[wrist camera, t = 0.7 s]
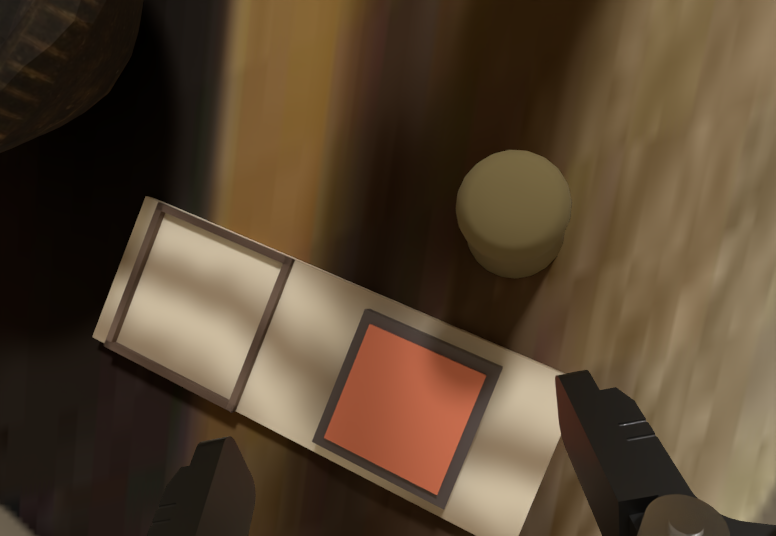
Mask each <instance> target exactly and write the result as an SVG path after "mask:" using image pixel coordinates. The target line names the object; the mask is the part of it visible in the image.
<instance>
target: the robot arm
mask: <svg viewBox="0 0 776 536" xmlns="http://www.w3.org/2000/svg"><path fill="white" fill-rule="evenodd" d="M555 387H556V397H557V408H558V419H559V426H560V431H561V435H562V439H563V442H564V445H565V448H566V451H567V453H568V455H569V458H570V460H571V462H572V465H573V467H574V470H575V472H576V474H577V477H578V479H579V481H580V484H581V486H582V489H583V491H584V493H585V496H586V498H587V500H588V503H589V505H590V508H591V510H592V512H593V515H594V517H595V519H596V522H597V524H598V527H599V529H600V531H601V534H602V536H776V525H768V524H760V523H752V522H744V521H739V520H735V519H731V518H728V517H726V516H723V515H721V514H719V513H718V512H717V511H716V510H715V509H714V508H713V507H711V506H710V505H709V504H707V503H705V502H703V501H701V500H699V499H698V498H697V497H696V496H695V495H694V494H693V492H692V491H691V490H690V488H689V486H688V485H687V483H686V482H685V480H684V479H683V477H682V475H681V474H680V472H679V471H678V469H677V467H676V466H675V464H674V463H673V461H672V460H671V458H670V456H669V455H668V453H667V452H666V450H665V448H664V447H663V445H662V444H661V442H660V441H659V439H658V437H656V436H655V433H654V431H653V429H652V428H651V426H650V425H649V423H648V422H646V418H645V417H644V415H643V414H642V412H641V410H640V409H639V407H638V406H637V404H636V403H635V401H634V400H633V399H631V398H630V397H628V396H627V395H626V394H624V393H623V392H622V391H620V390H619V389H617V388H616V387H615V388H610V389H604V390H599V388H598V386H597V385H596V383H595V381H594V379H593V378H592V376H591V374H590V373H589V371H588V370H583V371H577V372H572V373H567V374H562V375H556V376H555ZM254 505H255V485H254V481H253V478H252V475H251V473H250V471H249V469H248V467H247V465H246V463H245V461H244V459H243V457H242V455H241V452H240V450H239V448H238V446H237V444H236V442H235V440H234V439H233V438H232V437H224V438H218V439H213V440H208V441H203V442H200V443H199V444H198V445H197V448H196V450H195V453H194V456H193V458H192V461H191V464H190V466H186V467H181V468H180V469H179V471H178V472H177V473H176V475H175V476H174V477H173V478H172V480H171V481H170V482H169V483H168V485H167V486H166V488H165V491H164V493H163V496H162V498H161V501H160V503H159V509H158V510H157V511H156V514H155V516H154V519H153V521H152V523H153V525H152V526H150V529H149V531H148V534H147V536H248V534H249V529H250V524H251V520H252V515H253V510H254Z"/></svg>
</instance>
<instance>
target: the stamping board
mask: <svg viewBox="0 0 776 536" xmlns="http://www.w3.org/2000/svg"><path fill="white" fill-rule="evenodd" d="M365 309H372V310H374V311H377V312H379V313H381V314H383V315H386V316H388V317H390V318H393V319H395V320H397V321H400V322H402V323H404V324H406V325H409V326H411V327H413V328H416V329H418V330H420V331H422V332H425V333H427V334H429V335H432V336H434V337H436V338H439V339H441V340H443V341H445V342H448V343H450V344H452V345H455V346H457V347H459V348H462V349H464V350H466V351H468V352H471V353H473V354H475V355H478V356H480V357H482V358H484V359H487V360H489V361H491V362H494V363H496V364H498V365H501V366H503V369H502V371H501V374H500V376H499V379H498V381H497V383H496V386H495V388H494V391H493V393H492V396H491V398H490V400H489V403H488V405H487V408H486V410H485V412H484V415H483V417H482V420H481V422H480V425H479V427H478V429H477V432H476V434H475V437H474V439H473V441H472V444H471V446H470V449H469V451H468V454H467V456H466V458H465V461H464V463H463V466H462V468H461V471H460V473H459V475H458V478H457V480H456V483H455V485H454V487H453V490H452V492H451V495H450V497H449V500H448V502H447V504H446V507H445V509H444V510H443V509H441V508H440V507H438V506H436V505H434V504H432V503H430V502H428V501H426V500H424V499H422V498H420V497H418V496H416V495H414V494H412V493H410V492H408V491H406V490H404V489H403V488H401V487H399V486H397V485H395V484H393V483H391V482H389V481H387V480H385V479H383V478H381V477H379V476H377V475H375V474H373V473H371V472H369V471H367V470H366V469H364V468H362V467H360V466H358V465H356V464H354V463H352V462H350V461H348V460H346V459H344V458H342V457H340V456H338V455H336V454H334V453H332V452H330V451H329V450H327V449H325V448H323V447H321V446H319V445H317V444H315V443H313V442H312V440H313V437H314V435H315V432H316V430H317V427H318V425H319V422H320V420H321V417H322V415H323V412H324V410H325V407H326V405H327V402H328V400H329V397H330V395H331V392H332V390H333V387H334V385H335V382H336V380H337V377H338V375H339V372H340V370H341V367H342V365H343V362H344V360H345V357H346V355H347V352H348V350H349V347H350V345H351V342H352V340H353V337H354V335H355V332H356V330H357V327H358V325H359V322H360V320H361V317H362V315H363V312H364V310H365ZM92 337H93V338H95V339H97V340H99V341H101V342H103V343H104V345H103V346H104V347H106V348H108V349H110V350H112V351H114V352H116V353H118V354H120V355H122V356H124V357H126V358H127V359H129V360H131V361H133V362H135V363H137V364H139V365H141V366H143V367H145V368H147V369H149V370H151V371H152V372H154V373H156V374H158V375H160V376H162V377H164V378H166V379H168V380H170V381H172V382H174V383H176V384H177V385H179V386H181V387H183V388H185V389H187V390H189V391H191V392H193V393H195V394H197V395H199V396H201V397H203V398H204V399H206V400H208V401H210V402H212V403H214V404H216V405H218V406H220V407H222V408H224V409H226V410H228V411H229V412H231V413H232V412H235V411H236V412H238V413H240V414H242V415H244V416H246V417H248V418H250V419H252V420H254V421H255V422H257V423H259V424H261V425H263V426H265V427H267V428H269V429H271V430H273V431H275V432H277V433H279V434H281V435H283V436H284V437H286V438H288V439H290V440H292V441H294V442H296V443H298V444H300V445H302V446H304V447H306V448H308V449H310V450H311V451H313V452H315V453H317V454H319V455H321V456H323V457H325V458H327V459H329V460H331V461H333V462H335V463H337V464H339V465H340V466H342V467H344V468H346V469H348V470H350V471H352V472H354V473H356V474H358V475H360V476H362V477H364V478H366V479H367V480H369V481H371V482H373V483H375V484H377V485H379V486H381V487H383V488H385V489H387V490H389V491H391V492H393V493H395V494H396V495H398V496H400V497H402V498H404V499H406V500H408V501H410V502H412V503H414V504H416V505H418V506H420V507H422V508H423V509H425V510H427V511H429V512H431V513H433V514H435V515H437V516H439V517H441V518H443V519H445V520H447V521H449V522H451V523H452V524H454V525H456V526H458V527H460V528H462V529H464V530H466V531H468V532H470V533H472V534H474V535H476V536H518V535H519V533H520V531H521V528H522V526H523V524H524V521H525V519H526V516H527V514H528V512H529V509H530V507H531V505H532V502H533V500H534V497H535V495H536V493H537V490H538V488H539V486H540V483H541V481H542V478H543V476H544V474H545V471H546V469H547V467H548V464H549V462H550V459H551V457H552V455H553V452H554V450H555V447H556V445H557V443H558V440H559V438H560V436H561V431H560V426H559V419H558V408H557V397H556V387H555V376H556V375H562V374H565V373H563V372H561V371H558V370H556V369H554V368H551V367H549V366H547V365H544V364H542V363H540V362H537V361H535V360H533V359H530V358H528V357H526V356H523V355H521V354H518V353H516V352H514V351H511V350H509V349H507V348H504V347H502V346H500V345H497V344H495V343H493V342H490V341H488V340H486V339H483V338H481V337H479V336H476V335H474V334H472V333H469V332H467V331H465V330H462V329H460V328H458V327H455V326H453V325H451V324H448V323H446V322H444V321H441V320H439V319H436V318H434V317H432V316H429V315H427V314H425V313H422V312H420V311H418V310H415V309H413V308H411V307H408V306H406V305H404V304H401V303H399V302H397V301H394V300H392V299H390V298H387V297H385V296H383V295H380V294H378V293H376V292H373V291H371V290H369V289H366V288H364V287H361V286H359V285H357V284H354V283H352V282H350V281H347V280H345V279H343V278H340V277H338V276H336V275H333V274H331V273H329V272H326V271H324V270H322V269H319V268H317V267H315V266H312V265H310V264H308V263H305V262H303V261H301V260H298V259H296V258H294V257H291V256H289V255H286V254H284V253H282V252H279V251H277V250H275V249H272V248H270V247H268V246H265V245H263V244H261V243H258V242H256V241H254V240H251V239H249V238H247V237H244V236H242V235H240V234H237V233H235V232H233V231H230V230H228V229H226V228H223V227H221V226H219V225H216V224H214V223H211V222H209V221H207V220H204V219H202V218H200V217H197V216H195V215H193V214H190V213H188V212H186V211H183V210H181V209H179V208H176V207H174V206H172V205H169V204H167V203H165V202H162V201H160V200H158V199H155V198H152V197H148V196H146V197H145V199H144V202H143V205H142V207H141V210H140V213H139V215H138V218H137V220H136V223H135V226H134V228H133V231H132V234H131V236H130V239H129V242H128V244H127V247H126V249H125V252H124V255H123V257H122V260H121V263H120V265H119V268H118V271H117V273H116V276H115V278H114V281H113V284H112V286H111V289H110V292H109V294H108V297H107V300H106V302H105V305H104V307H103V310H102V313H101V315H100V318H99V321H98V323H97V326H96V329H95V331H94V334H93V336H92Z"/></svg>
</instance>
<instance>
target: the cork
mask: <svg viewBox="0 0 776 536" xmlns="http://www.w3.org/2000/svg"><path fill="white" fill-rule="evenodd" d="M571 207H572V199H571V195H570V190H569V186H568V183H567V182H566V180H565V178H564V177H563V175H562V174H561V172H560V170H559V169H558V168H557V167H556V166H554V165H553V164H552V163H551V162H550V161H548V160H547V159H546V158H545V157H542V156H540V155H537V154H534V153H532V152H529V151H524V150H506V151H502V152H498V153H494V154H492V155H490V156H488V157H487V158H485V159H483V160H482V161H480V162H478V163H477V164H476V165H475V166H474V167H473V168H472V169H471V170H470V172H469V173H468V174H467V175H466V176H465V177H464V180H463V182H462V184H461V186H460V188H459V190H458V193H457V201H456V209H455V210H456V215H457V220H458V225H459V228H460V230H461V232H462V233H463V235H464V237H465V238H466V240H467V242H468V247H469V249H470V251H471V253H472V254H473V256H474V258H475V260H476V261H477V262H478V263H479V264H480V265H482V266H483V267H484V268H485V269H486V270H487V271H489V272H491V273H494V274H496V275H498V276H500V277H507V278H516V279H517V278H522V277H527V276H532V275H534V274H536V273H538V272H539V271H541V270H543V269H545V268H546V267H547V266H548V265H549V264H550V263H551V262H552V261H553V260H554V259H555V258H556V257H557V255H558V252H559V250H560V248H561V246H562V244H563V239H564V232H565V230H566V227H567V225H568V223H569V221H570V216H571Z"/></svg>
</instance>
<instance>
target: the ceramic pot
mask: <svg viewBox="0 0 776 536" xmlns="http://www.w3.org/2000/svg"><path fill="white" fill-rule="evenodd" d="M143 2H144V0H0V153H1V152H4V151H7V150H9V149H12V148H14V147H16V146H19V145H21V144H23V143H25V142H28V141H30V140H32V139H34V138H37V137H39V136H41V135H44V134H46V133H48V132H50V131H53V130H55V129H57V128H59V127H61V126H63V125H65V124H66V123H68V122H70V121H71V120H73V119H75V118H76V117H78V116H80V115H82V114H83V113H85V112H86V111H87V110H88V109H90V108H91V107H92V106H93V105H95V104H96V103H97V102H98V101H99V100H101V99H102V98H103V97H104V96H106V95H107V94H108V93H109V92H110V91H111V89H112V87H113V86H114V84H115V82H116V81H117V79H118V78H119V76H120V74H121V73H122V71H123V69H124V68H125V66H126V65H127V63H128V61H129V60H130V58H131V56H132V53H133V49H134V46H135V42H136V39H137V35H138V32H139V27H140V21H141V14H142V8H143Z"/></svg>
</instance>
